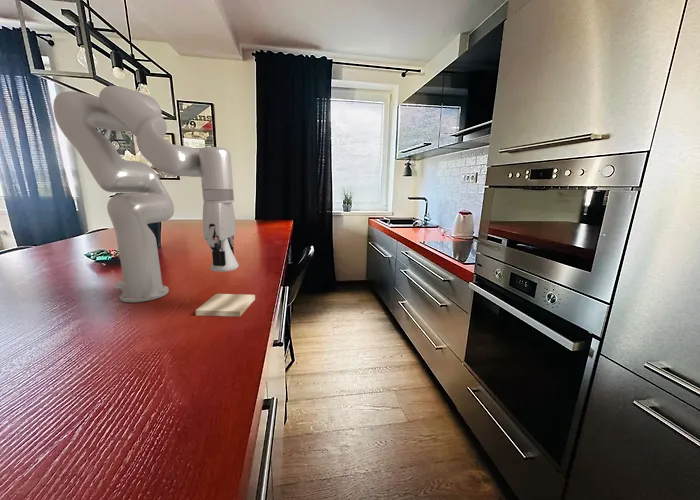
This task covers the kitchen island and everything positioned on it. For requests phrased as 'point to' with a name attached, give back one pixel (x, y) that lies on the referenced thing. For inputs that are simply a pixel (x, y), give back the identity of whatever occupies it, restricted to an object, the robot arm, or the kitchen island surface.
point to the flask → (229, 258)
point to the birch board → (225, 305)
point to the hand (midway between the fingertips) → (224, 262)
